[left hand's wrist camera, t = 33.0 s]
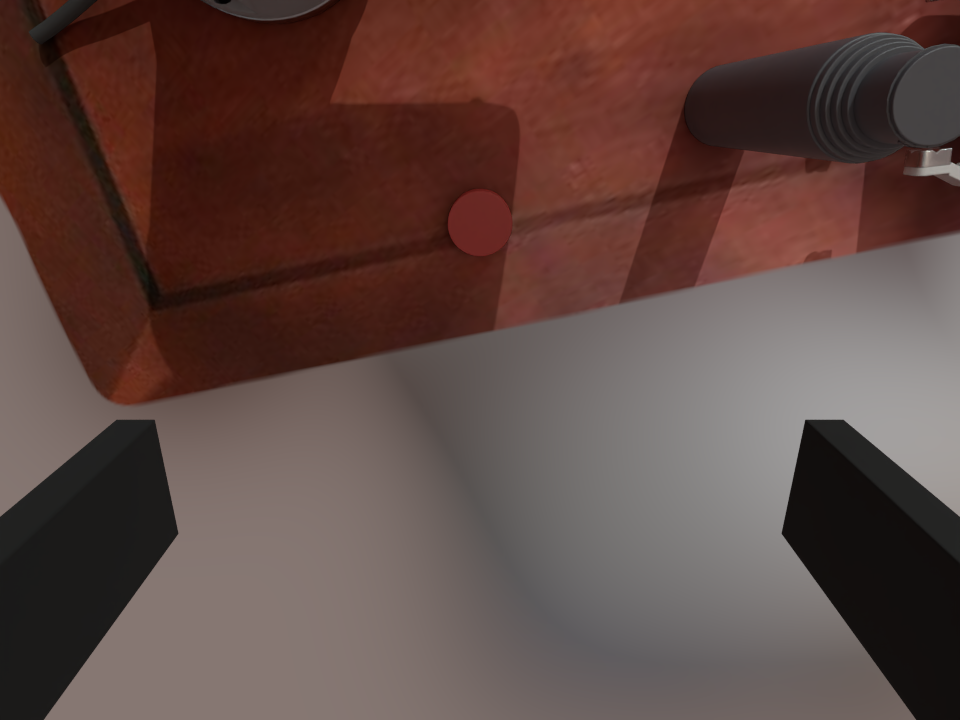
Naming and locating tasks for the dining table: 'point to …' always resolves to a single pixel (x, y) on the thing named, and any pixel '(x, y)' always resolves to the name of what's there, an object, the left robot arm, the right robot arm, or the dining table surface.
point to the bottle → (832, 100)
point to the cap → (479, 222)
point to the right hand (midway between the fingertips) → (921, 78)
